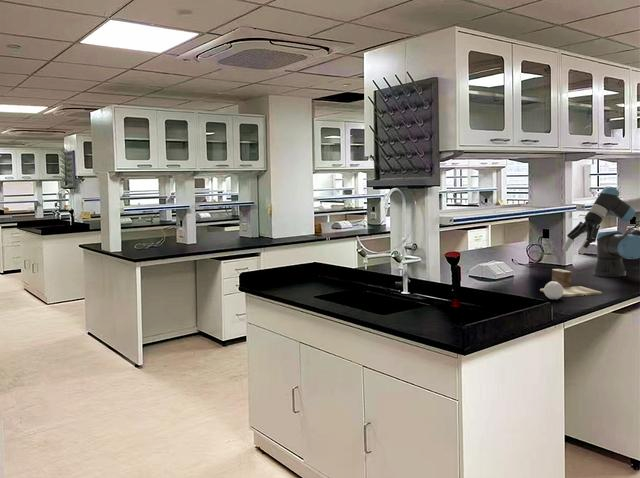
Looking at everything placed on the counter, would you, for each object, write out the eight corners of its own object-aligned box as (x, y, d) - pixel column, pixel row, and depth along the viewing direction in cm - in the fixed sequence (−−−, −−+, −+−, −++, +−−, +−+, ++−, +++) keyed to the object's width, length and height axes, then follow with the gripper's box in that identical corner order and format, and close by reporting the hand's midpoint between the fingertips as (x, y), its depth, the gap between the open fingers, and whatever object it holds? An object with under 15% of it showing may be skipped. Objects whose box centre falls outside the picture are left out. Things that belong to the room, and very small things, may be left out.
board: (580, 288, 263) (580, 286, 263) (601, 294, 248) (601, 292, 247) (540, 290, 261) (539, 288, 261) (558, 297, 245) (558, 294, 245)
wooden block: (559, 285, 274) (559, 268, 273) (571, 288, 264) (571, 271, 263) (551, 285, 273) (551, 269, 273) (563, 289, 263) (563, 272, 263)
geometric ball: (549, 305, 241) (537, 291, 242) (555, 296, 247) (544, 282, 247) (563, 299, 236) (551, 284, 236) (570, 289, 241) (557, 275, 241)
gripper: (575, 210, 290) (552, 244, 290) (606, 212, 265) (581, 250, 265) (586, 218, 291) (563, 252, 291) (617, 220, 266) (593, 258, 266)
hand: (572, 251), depth 278 cm, fingers open, 13 cm apart
